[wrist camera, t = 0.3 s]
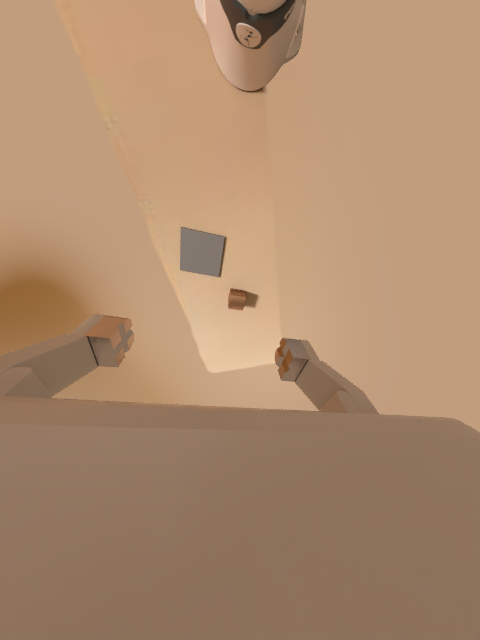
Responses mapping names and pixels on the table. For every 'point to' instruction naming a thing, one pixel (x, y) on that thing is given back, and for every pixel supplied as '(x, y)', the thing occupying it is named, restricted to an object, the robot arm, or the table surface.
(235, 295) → the walnut cube
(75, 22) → the table surface
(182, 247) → the slate pad
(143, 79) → the table surface
